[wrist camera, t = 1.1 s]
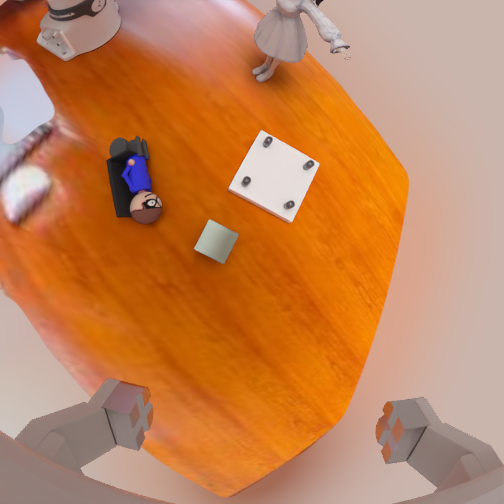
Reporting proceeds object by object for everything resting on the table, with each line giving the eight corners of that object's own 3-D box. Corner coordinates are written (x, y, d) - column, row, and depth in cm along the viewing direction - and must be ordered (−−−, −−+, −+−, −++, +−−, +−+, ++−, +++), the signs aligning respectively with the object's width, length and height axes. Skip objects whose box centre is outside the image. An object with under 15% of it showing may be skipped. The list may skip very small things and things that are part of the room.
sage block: (195, 248, 49) (193, 249, 39) (207, 224, 50) (209, 219, 40) (219, 261, 50) (223, 264, 40) (231, 237, 50) (238, 234, 40)
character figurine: (150, 140, 48) (165, 222, 49) (111, 150, 46) (125, 232, 47) (146, 123, 40) (163, 216, 41) (101, 134, 39) (116, 229, 39)
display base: (227, 190, 50) (230, 184, 46) (258, 134, 51) (263, 124, 46) (288, 223, 52) (296, 220, 47) (315, 166, 53) (325, 160, 48)
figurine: (217, 39, 49) (238, -75, 20) (253, 28, 50) (289, -76, 21) (279, 132, 51) (354, 33, 22) (315, 117, 53) (403, 28, 23)
